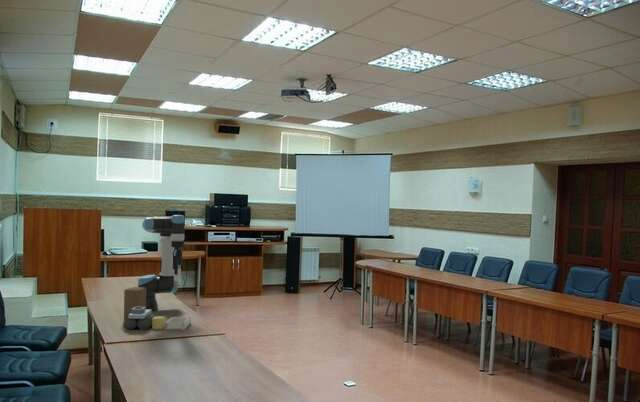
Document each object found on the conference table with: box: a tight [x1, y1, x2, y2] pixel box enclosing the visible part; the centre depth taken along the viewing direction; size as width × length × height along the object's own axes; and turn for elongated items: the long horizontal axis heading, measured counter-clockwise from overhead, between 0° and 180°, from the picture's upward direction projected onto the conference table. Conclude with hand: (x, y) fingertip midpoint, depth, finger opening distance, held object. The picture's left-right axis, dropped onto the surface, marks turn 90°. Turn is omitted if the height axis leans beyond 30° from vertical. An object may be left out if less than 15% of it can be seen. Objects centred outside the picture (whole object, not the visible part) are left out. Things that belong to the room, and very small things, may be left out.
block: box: [123, 286, 146, 322], centre depth 301 cm, size 10×10×20 cm
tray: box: [164, 316, 191, 331], centre depth 288 cm, size 15×12×4 cm
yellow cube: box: [151, 316, 166, 330], centre depth 285 cm, size 5×6×6 cm
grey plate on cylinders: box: [123, 307, 156, 331], centre depth 285 cm, size 14×15×12 cm
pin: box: [174, 264, 181, 288], centre depth 287 cm, size 4×4×13 cm
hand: (177, 279), depth 287 cm, fingers closed on pin, 3 cm apart
